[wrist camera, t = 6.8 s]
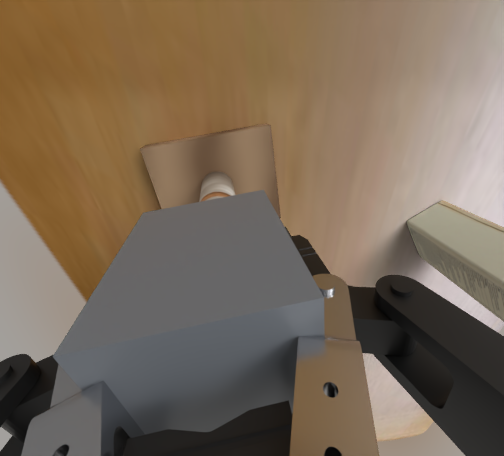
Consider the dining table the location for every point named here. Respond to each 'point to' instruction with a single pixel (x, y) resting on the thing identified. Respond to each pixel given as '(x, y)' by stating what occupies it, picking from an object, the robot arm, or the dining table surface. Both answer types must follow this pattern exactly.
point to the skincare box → (463, 251)
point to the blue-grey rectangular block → (198, 316)
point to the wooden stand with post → (213, 166)
